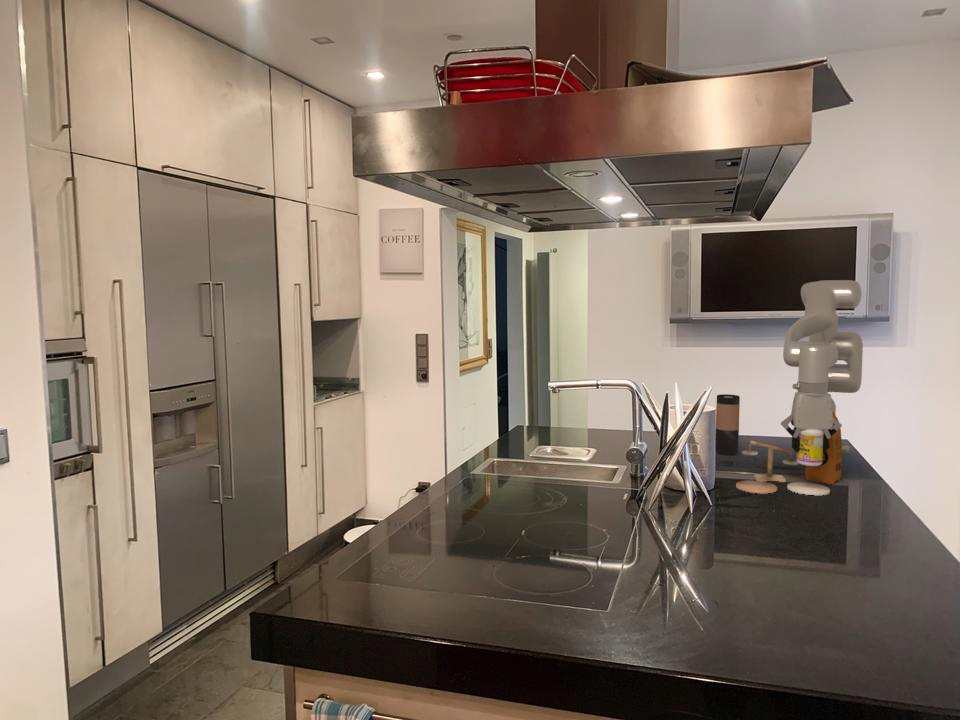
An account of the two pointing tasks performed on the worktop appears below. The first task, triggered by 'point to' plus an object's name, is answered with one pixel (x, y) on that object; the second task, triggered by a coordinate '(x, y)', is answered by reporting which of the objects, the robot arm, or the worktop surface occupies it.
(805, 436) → the supplement bottle
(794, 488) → the plate offwhite
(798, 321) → the robot arm
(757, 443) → the balance
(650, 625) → the worktop surface
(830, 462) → the coffee package
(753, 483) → the plate terracotta
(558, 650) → the worktop surface
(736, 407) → the travel mug
